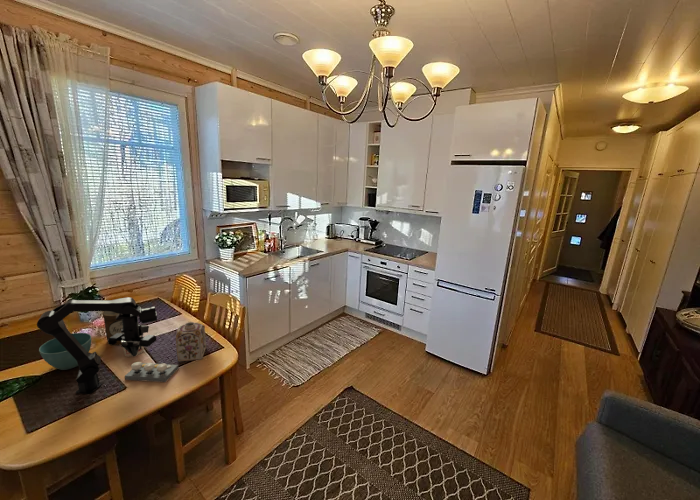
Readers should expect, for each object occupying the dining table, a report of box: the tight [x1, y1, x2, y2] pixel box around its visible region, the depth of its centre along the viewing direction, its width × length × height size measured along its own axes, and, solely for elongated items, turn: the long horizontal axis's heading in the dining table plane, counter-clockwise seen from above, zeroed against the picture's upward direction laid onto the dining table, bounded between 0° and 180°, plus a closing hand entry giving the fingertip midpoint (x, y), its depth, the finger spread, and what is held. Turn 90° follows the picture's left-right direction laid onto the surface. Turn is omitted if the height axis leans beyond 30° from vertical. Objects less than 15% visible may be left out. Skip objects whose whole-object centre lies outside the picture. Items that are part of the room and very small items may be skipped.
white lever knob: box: [157, 362, 168, 374], centre depth 139 cm, size 4×4×4 cm
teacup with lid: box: [122, 334, 145, 357], centre depth 157 cm, size 12×9×12 cm
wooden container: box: [102, 311, 140, 347], centre depth 167 cm, size 15×15×22 cm
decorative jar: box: [175, 321, 207, 363], centre depth 156 cm, size 12×12×18 cm
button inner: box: [130, 361, 143, 372], centre depth 139 cm, size 4×4×4 cm
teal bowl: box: [38, 332, 92, 371], centre depth 144 cm, size 18×18×12 cm
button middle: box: [144, 362, 155, 373], centre depth 139 cm, size 4×4×4 cm
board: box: [124, 362, 179, 383], centre depth 142 cm, size 10×19×2 cm, turn 88°
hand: (134, 356), depth 138 cm, fingers closed
